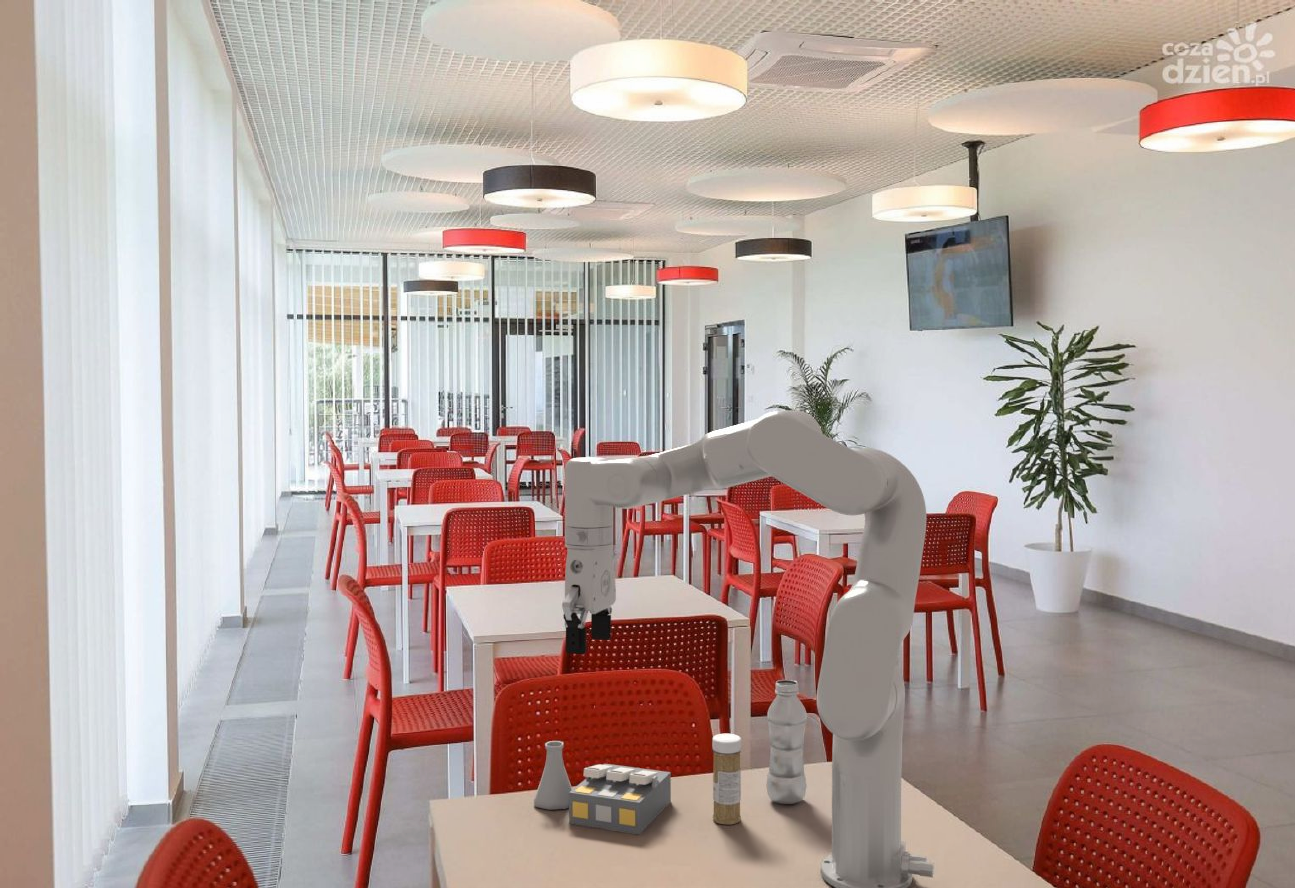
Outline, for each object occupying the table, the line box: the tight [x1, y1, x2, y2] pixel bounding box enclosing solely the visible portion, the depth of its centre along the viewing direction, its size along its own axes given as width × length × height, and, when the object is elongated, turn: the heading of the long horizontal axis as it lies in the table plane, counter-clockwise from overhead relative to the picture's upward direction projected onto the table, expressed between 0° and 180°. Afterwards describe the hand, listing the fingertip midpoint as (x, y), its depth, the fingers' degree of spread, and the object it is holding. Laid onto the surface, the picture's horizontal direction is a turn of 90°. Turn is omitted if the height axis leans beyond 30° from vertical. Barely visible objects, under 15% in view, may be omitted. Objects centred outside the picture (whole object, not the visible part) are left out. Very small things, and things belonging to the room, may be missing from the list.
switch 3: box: [629, 770, 658, 785], centre depth 168 cm, size 3×6×1 cm, turn 159°
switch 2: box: [606, 767, 636, 781], centre depth 170 cm, size 3×6×1 cm, turn 159°
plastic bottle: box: [766, 679, 808, 805], centre depth 174 cm, size 6×7×20 cm
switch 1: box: [583, 764, 613, 778], centre depth 171 cm, size 3×6×1 cm, turn 159°
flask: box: [533, 740, 574, 810], centre depth 174 cm, size 7×7×10 cm
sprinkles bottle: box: [711, 732, 742, 825], centre depth 166 cm, size 5×5×14 cm
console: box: [568, 763, 672, 836], centre depth 170 cm, size 12×14×7 cm
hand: (588, 646), depth 163 cm, fingers open, 9 cm apart
